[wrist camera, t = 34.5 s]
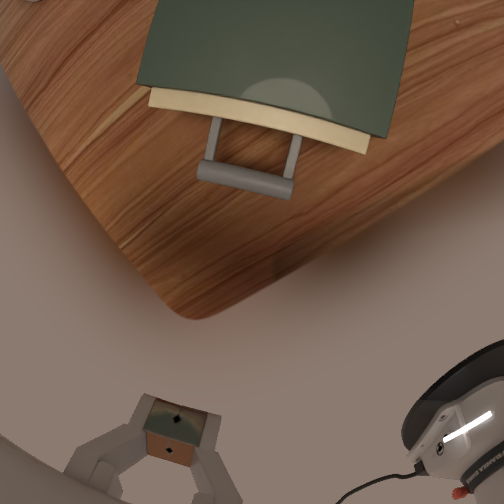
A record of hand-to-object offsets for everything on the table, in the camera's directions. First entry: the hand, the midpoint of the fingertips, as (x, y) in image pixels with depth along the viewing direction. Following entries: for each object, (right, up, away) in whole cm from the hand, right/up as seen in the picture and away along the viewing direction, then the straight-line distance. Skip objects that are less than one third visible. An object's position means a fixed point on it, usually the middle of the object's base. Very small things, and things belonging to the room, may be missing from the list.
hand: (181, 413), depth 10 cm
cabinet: (+5, +23, +9) cm, 25 cm away
